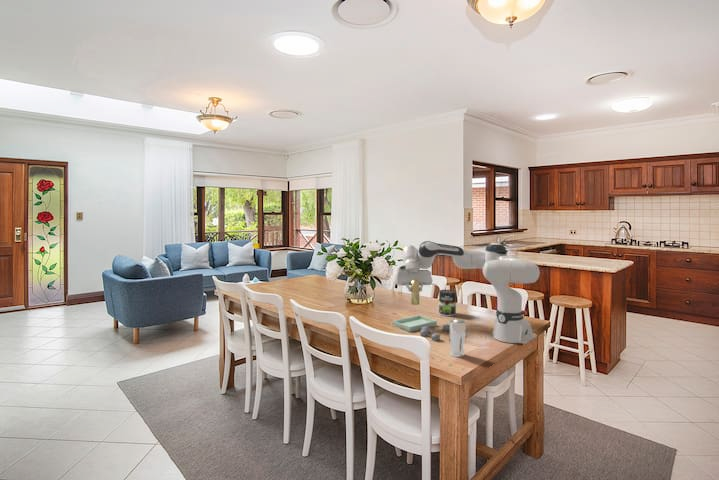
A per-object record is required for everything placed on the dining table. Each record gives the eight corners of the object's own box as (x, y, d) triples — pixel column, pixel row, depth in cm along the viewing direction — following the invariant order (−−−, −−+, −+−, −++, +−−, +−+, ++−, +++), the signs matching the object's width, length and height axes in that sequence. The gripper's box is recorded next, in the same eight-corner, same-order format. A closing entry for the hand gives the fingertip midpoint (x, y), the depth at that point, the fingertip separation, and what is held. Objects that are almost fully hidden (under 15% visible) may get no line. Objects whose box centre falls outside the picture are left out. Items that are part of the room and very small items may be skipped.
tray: (419, 319, 221) (419, 315, 221) (436, 325, 209) (436, 320, 209) (392, 325, 210) (392, 320, 210) (409, 332, 198) (409, 327, 198)
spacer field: (440, 326, 207) (440, 322, 207) (471, 337, 189) (471, 332, 189) (414, 333, 196) (414, 328, 196) (444, 345, 179) (445, 340, 179)
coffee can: (455, 316, 226) (455, 293, 225) (437, 315, 229) (438, 292, 228) (456, 312, 236) (456, 290, 235) (439, 311, 239) (439, 289, 238)
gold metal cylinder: (415, 302, 212) (415, 279, 211) (421, 304, 208) (421, 280, 207) (409, 303, 210) (409, 280, 209) (414, 305, 206) (415, 281, 205)
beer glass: (464, 358, 163) (465, 324, 162) (447, 356, 166) (448, 322, 164) (466, 352, 170) (466, 320, 168) (450, 350, 172) (450, 318, 171)
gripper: (429, 273, 220) (433, 293, 211) (394, 273, 218) (396, 294, 210) (431, 266, 215) (435, 287, 206) (395, 267, 214) (398, 288, 205)
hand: (415, 290), depth 208 cm, fingers closed on gold metal cylinder, 4 cm apart
